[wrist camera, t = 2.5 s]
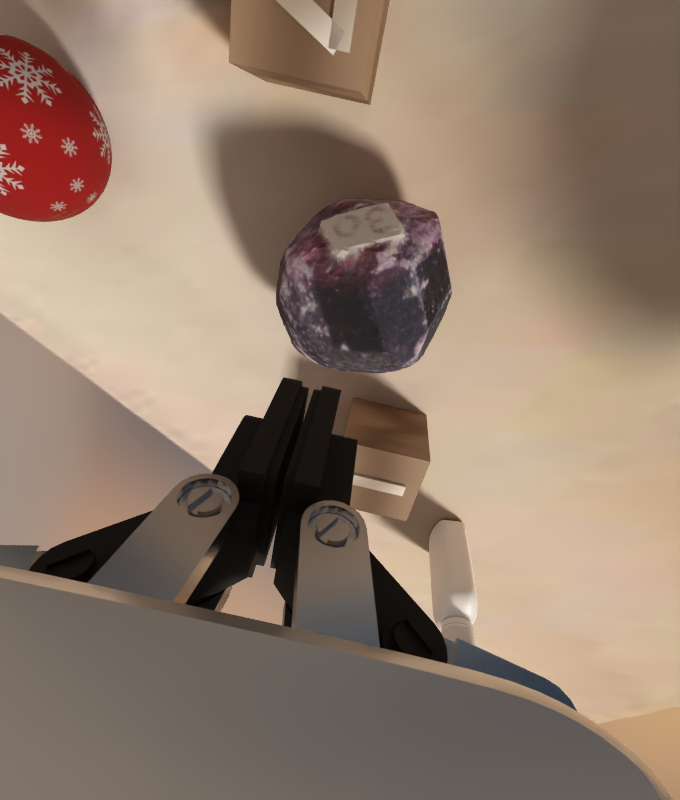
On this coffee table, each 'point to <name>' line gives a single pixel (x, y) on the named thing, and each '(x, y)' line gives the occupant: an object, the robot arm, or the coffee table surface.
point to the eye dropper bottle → (452, 581)
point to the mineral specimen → (365, 285)
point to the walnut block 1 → (387, 458)
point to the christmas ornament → (47, 137)
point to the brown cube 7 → (310, 43)
